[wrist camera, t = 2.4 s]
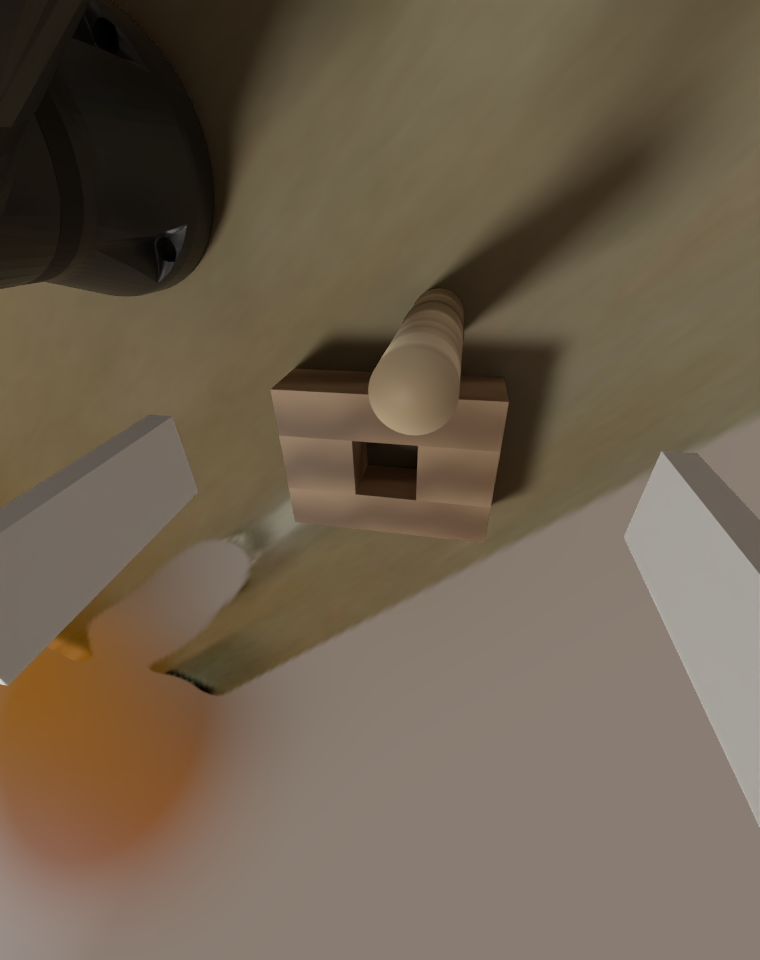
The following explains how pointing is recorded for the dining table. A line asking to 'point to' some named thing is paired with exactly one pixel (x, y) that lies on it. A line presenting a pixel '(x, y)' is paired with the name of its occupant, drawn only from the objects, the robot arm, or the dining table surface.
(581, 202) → the dining table surface
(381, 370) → the dowel
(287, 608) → the dining table surface
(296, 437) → the board
